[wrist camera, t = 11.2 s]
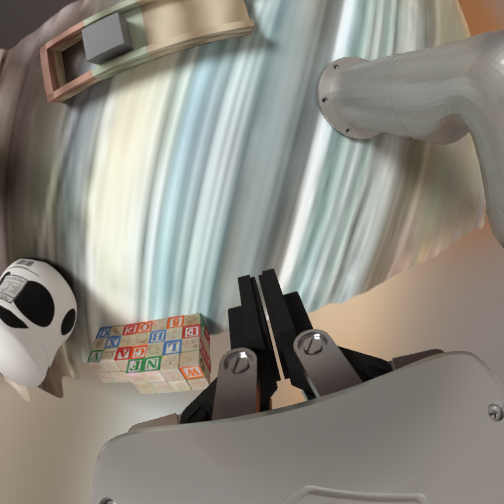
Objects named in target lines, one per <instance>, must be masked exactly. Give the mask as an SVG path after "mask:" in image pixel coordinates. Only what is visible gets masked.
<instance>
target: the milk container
mask: <svg viewBox="0 0 504 504" xmlns="http://www.w3.org/2000/svg"><path fill="white" fill-rule="evenodd" d="M76 318H77V305H76V299H75V296H74V294H73V292H72V290H71V287H70V286H69V284H68V283H67V281H66V280H65V279H64V277H63V276H62V275H61V274H60V273H59V272H58V271H57V270H56V269H55V268H54V267H52V266H51V265H50V264H48V263H47V262H45V261H42V260H40V259H37V258H22V259H19V260H17V261H16V262H14V263H13V264H11V265H10V266H9V267H8V268H7V269H6V270H5V271H4V273H3V274H2V276H1V278H0V372H1V373H2V374H3V375H5V376H6V377H7V378H9V379H11V380H12V381H14V382H16V383H18V384H20V385H23V386H26V387H38V386H39V385H40V384H41V383H42V381H43V380H44V378H45V376H46V375H47V372H48V369H49V367H50V366H51V364H52V361H53V359H54V356H55V354H56V352H57V350H58V348H59V347H60V346H61V345H62V344H63V343H64V342H65V341H66V340H67V339H68V337H69V336H70V334H71V333H72V331H73V328H74V325H75V322H76Z"/></svg>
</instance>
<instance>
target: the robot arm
mask: <svg viewBox="0 0 504 504" xmlns="http://www.w3.org/2000/svg"><path fill="white" fill-rule="evenodd" d="M333 66H334V67H335V69H334V67H333ZM322 99H324V102H323V101H322ZM317 100H318V105H319V107H320V110H321V112H322V114H323V116H324V118H325V119H326V121H327V122H328V123H329V124H330V125H331V126H332V127H333V128H334V129H335V130H336V131H338V132H339V133H341V134H343V135H345V136H348V137H351V138H355V139H369V138H372V137H375V136H377V135H379V134H380V133H387V134H392V135H397V136H402V137H407V138H411V139H415V140H420V141H424V142H429V143H433V144H440V145H445V144H450V143H454V142H456V141H458V140H460V139H461V138H462V137H464V136H465V135H466V134H467V133H468V132H470V134H471V136H472V139H473V142H474V145H475V149H476V153H477V157H478V159H479V164H480V169H481V174H482V180H483V186H484V193H485V200H486V207H487V213H488V219H489V223H490V227H491V229H492V232H493V234H494V236H495V238H496V239H497V241H498V242H499V243H500V244H501V245H502V246H503V248H504V30H497V31H491V32H486V33H482V34H479V35H475V36H473V37H469V38H466V39H463V40H460V41H456V42H452V43H449V44H445V45H441V46H436V47H432V48H426V49H421V50H416V51H411V52H405V53H401V54H396V55H391V56H387V57H383V58H379V59H375V60H371V61H368V60H366V59H362V58H359V57H344V58H340V59H338V60H336V61H333V62H332V63H330V64H329V65H328V66H327V67H326V68H325V69H324V70H323V72H322V73H321V75H320V77H319V80H318V84H317ZM346 129H347V130H348V131H347V132H346ZM262 273H263V275H259V280H260V284H261V288H262V292H263V296H264V300H265V304H266V308H267V312H268V316H269V320H270V323H271V327H272V331H273V335H274V339H275V343H276V347H277V351H278V354H279V358H280V362H281V366H282V370H283V374H284V377H285V379H288V378H290V381H291V384H292V385H293V386H295V387H297V388H300V389H301V390H302V393H303V395H304V397H305V399H306V401H305V402H301V403H298V404H294V405H290V406H286V407H282V408H277V409H273V410H272V399H271V396H272V395H273V394H274V392H275V391H276V390H277V383H276V381H280V380H281V378H280V374H279V370H278V366H277V362H276V358H275V354H274V350H273V345H272V341H271V337H270V333H269V329H268V325H267V321H266V317H265V313H264V310H263V306H262V302H261V298H260V295H259V291H258V287H257V283H256V280H255V277H251V278H250V275H246V276H242V277H238V283H239V290H240V298H241V305H242V306H238V307H234V308H230V309H228V317H229V330H230V342H231V351H229V352H227V353H226V354H225V355H224V356H223V357H222V358H221V361H220V364H219V370H218V377H217V378H216V379H215V380H214V381H213V382H212V383H211V384H210V385H209V386H208V387H207V388H206V389H205V390H204V391H203V392H202V393H201V394H200V395H199V396H198V397H197V398H196V399H195V400H194V401H193V402H192V403H190V405H189V406H188V407H186V408H185V410H184V411H183V412H182V414H179V415H177V414H176V413H174V414H171V415H168V416H164V417H160V418H157V419H154V420H150V421H146V422H142V423H138V424H136V425H134V426H132V427H131V428H130V429H129V431H128V432H126V433H124V434H121V435H119V436H116V437H114V438H112V439H111V440H109V441H108V442H107V443H105V445H104V446H103V447H102V448H101V450H100V452H99V455H98V457H97V461H96V464H95V468H94V473H93V480H92V487H91V496H90V504H504V386H503V384H502V383H501V382H500V380H499V379H498V378H497V376H496V375H495V374H494V372H493V371H492V370H491V369H490V368H489V367H488V366H487V364H486V363H485V362H484V361H483V360H481V359H480V358H479V357H478V356H476V355H475V354H472V353H471V352H466V351H453V352H444V351H442V350H439V349H431V350H427V351H423V352H419V353H414V354H410V355H405V356H400V357H396V358H393V359H392V361H388V362H387V361H385V360H383V359H380V358H376V357H373V356H370V355H366V354H362V353H359V352H356V351H353V350H349V349H346V348H342V347H339V346H337V345H336V344H335V342H334V341H333V340H332V338H331V337H330V336H329V335H328V334H327V333H326V332H324V331H322V330H318V329H313V327H312V325H311V322H310V320H309V317H308V315H307V313H306V310H305V308H304V306H303V303H302V301H301V299H300V296H299V294H298V292H297V291H296V292H293V293H289V294H285V295H283V294H282V291H281V288H280V285H279V282H278V279H277V277H276V274H275V271H274V269H270V270H266V271H262Z"/></svg>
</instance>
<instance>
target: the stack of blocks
mask: <svg viewBox="0 0 504 504" xmlns="http://www.w3.org/2000/svg"><path fill="white" fill-rule="evenodd" d="M91 350H92V351H91V353H90V356H89V358H88V361H87V363H88V364H89V366H90V367H91V368H92V369H93V370H94V372H95V373H96V374H97V375H98V376H99V378H100V379H101V380H102V381H103V382H104V383H113V382H119V383H120V382H132V383H133V384H134V385H135V386H136V387H137V388H138V389H139V391H140V392H141V393H142V394H155V393H167V392H178V391H187V390H197V389H206V388H207V387H208V386H209V385H210V373H211V363H210V337H209V334H208V331H207V328H206V326H205V324H204V321H203V318H202V316H201V313H197V314H191V315H185V316H184V315H183V316H177V317H170V318H164V319H157V320H153V321H148V322H141V323H136V324H129V325H119V326H112V327H104V328H100V329H99V332H98V334H97V336H96V339H95V341H94V344H93V346H92V349H91Z"/></svg>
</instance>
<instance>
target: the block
mask: <svg viewBox="0 0 504 504" xmlns="http://www.w3.org/2000/svg"><path fill="white" fill-rule="evenodd" d="M82 37H83V43H84V48H85V54H86V59H87V61H89V62H92V63H95V64H97V65H101V64H103V63H105V62H107V61H109V60H111V59H114V58H116V57H118V56H120V55H123V54H125V53H127V52H129V51H132V50H134V49H133V45H132V41H131V36H130V32H129V27H128V22H127V20H126V19H124V18H123V17H122V16H121V15H120V14H119V13H118V12H117V13H115V14H112V15H110V16H108V17H106V18H104V19H102V20H100V21H98V22H96V23H94V24H92V25H90V26H88V27H86V28H85V29H83V30H82Z"/></svg>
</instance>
